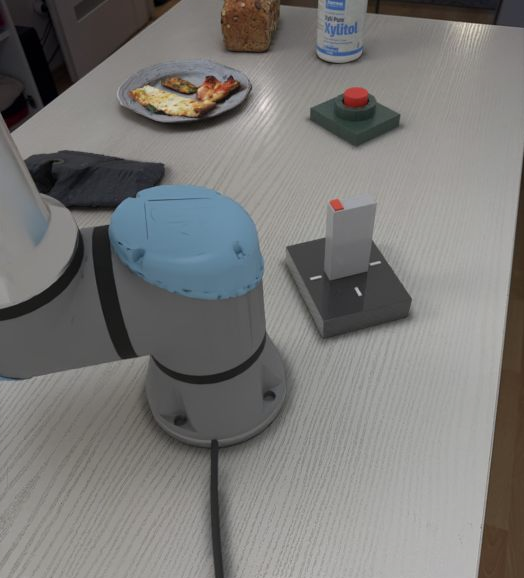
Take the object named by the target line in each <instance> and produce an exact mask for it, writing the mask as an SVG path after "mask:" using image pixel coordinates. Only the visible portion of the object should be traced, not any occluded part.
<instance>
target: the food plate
mask: <svg viewBox="0 0 524 578" xmlns="http://www.w3.org/2000/svg"><path fill="white" fill-rule="evenodd" d="M252 90H253V85H252V83H251V81H250V79H249V78H248V77H247V76H246V75H245V73H244V72H243V71H241V70H238V69H235V68H233V67H231V66H227V65H225V64H222V63H219V62H215V61H212V60H210V59H201V58H199V59H187V60H174V61H171V60H170V61H165V62H162V63H158V64H157V63H156V64H154V65H150V66H147V67H144V68H143V69H141V70H139V71H137V72H136V73H134V74H131V75H130V76H128V77H126V78H125V80H124V82H122V83H121V84H120V85H119V87H118V88H117V92H116V98H117V100H118V102H119V105H120V106H122V107H124V108H126V109H129V110H131V111H132V112H133V113H135V114H138V115H140V116H143V117H146V118H148V119H150V120H153V121H155V122H158V123H159V122H160V123H163V124H164V123H165V124H182V123H184V124H187V123H197V122H201V121H205V120H212V119H213V120H214V119H215V118H217V117H218V116H220V115H223V114H225V113H227V112H229V111H232V110H233V109H235V108H238V107H240V106H241V105H242V104H244V103H245V102H246V100H247V99H248V98H249V95H250V93H251V91H252Z"/></svg>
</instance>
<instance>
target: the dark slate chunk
mask: <svg viewBox="0 0 524 578" xmlns="http://www.w3.org/2000/svg"><path fill="white" fill-rule="evenodd" d="M23 161H24V163H25V165H26V167H27V169H28V171H29V173H30V175H31V177H32V179H33V181H34V183H35V185H36V187H37V190H38V192H39V193H42V194H45V195H48V196H50V197H52V198H54V199H56V200H58V201H60V202H61V203H62V204H63V205H64V206H65V207H66V208H68V207H71V206H81V207H91V208H96V207H100V208H101V207H108V208H112V207H116V208H117V207H118V206H119V205H120V204H121V203H122V202H123V201H124V200H125V199H127V198H129V197H130V198H136V195H137V193H138V192H140V191H142V190H145V189H148V188H152V187H154V184H156V183H157V182H158V181H159V180H160V178H161V177H162V175H163V174H164V173H165V165H166V164H165V163H163V162H149V161H138V160H132V159H126V158H121V157H117V156H111V155H105V154H103V153H102V154H101V153H100V154H99V153H94V152H89V151H88V152H86V151H79V150H69V149H62V150H58V151H57V152H50V153H37V154H32V155H31V154H30V156H28V157H26V158H25V159H23ZM53 186H54V187H53ZM52 187H53V189H52V190H53V192H51V194H48V193H49V192H50V191H51V188H52Z"/></svg>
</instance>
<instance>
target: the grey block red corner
mask: <svg viewBox="0 0 524 578" xmlns="http://www.w3.org/2000/svg"><path fill="white" fill-rule="evenodd" d="M377 204H378V203H377V201H376V199H375V198H374V197H373V195H372V194H371V192H367V193H363V194H358V195H354V196H349V197H345V198H340V199H339V198H335V199H331V200H329V201H327V204H326V221H325V222H326V223H325V237H326V241H325V261H324V271H325V273H326V275H327V277H328V278H329V280H335V279H339V278H343V277H347V276H351V275H355V274H359V273H363V272H367V271H368V266H369V258H370V251H371V243H372V240H373V235H374V227H375V220H376V212H377Z"/></svg>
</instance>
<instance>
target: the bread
mask: <svg viewBox="0 0 524 578" xmlns="http://www.w3.org/2000/svg"><path fill="white" fill-rule="evenodd" d="M223 2H224V3H223V6H222V8H221V9H220V30H221V35H222V36H223V37H222V38H223V45H224V47H225V49H226V50H229V51H231V52H232V51H233V52H251V53H252V52H253V53H254V52H256V53H258V52H259V53H261V52H265V51H266V50H269V46H270V44H271V43H272V41H273V37H274V35H275V33H276V31H277V27H278V25H279V21H280V17H281V15H280V14H281V0H223Z"/></svg>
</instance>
